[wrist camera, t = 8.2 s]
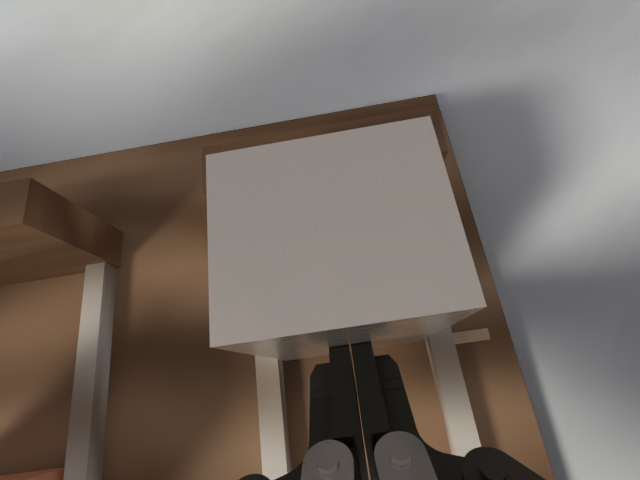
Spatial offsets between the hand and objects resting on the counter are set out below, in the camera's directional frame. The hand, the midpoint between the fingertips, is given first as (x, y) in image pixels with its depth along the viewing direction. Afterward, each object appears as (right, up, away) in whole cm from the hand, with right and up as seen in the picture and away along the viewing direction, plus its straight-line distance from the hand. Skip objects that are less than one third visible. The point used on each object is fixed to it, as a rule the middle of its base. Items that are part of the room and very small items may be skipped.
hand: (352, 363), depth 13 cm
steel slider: (0, +2, +4) cm, 5 cm away
